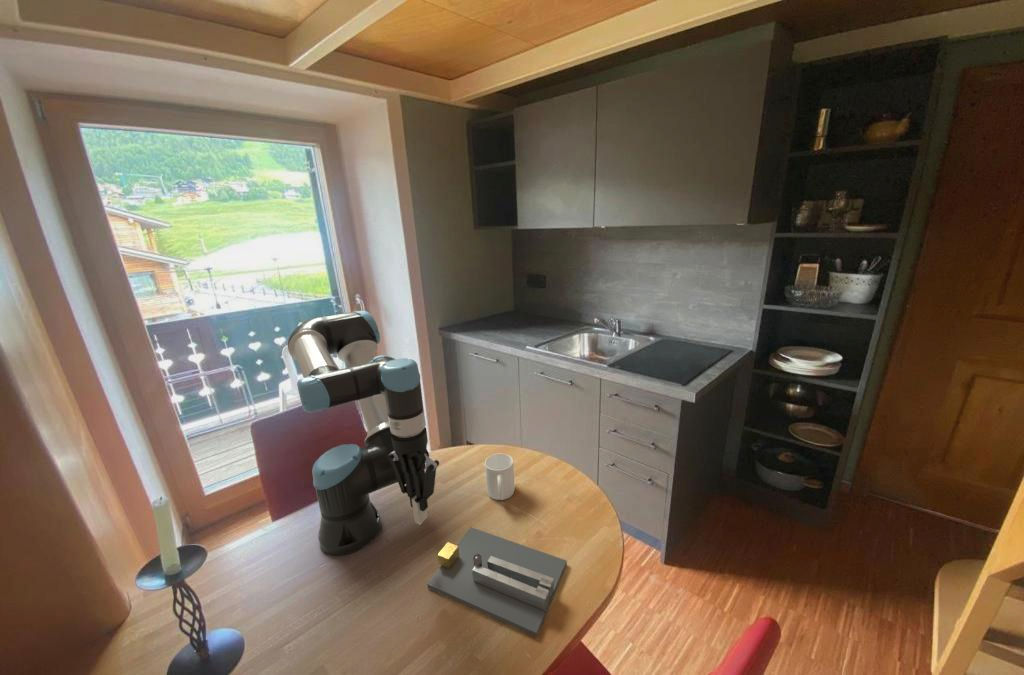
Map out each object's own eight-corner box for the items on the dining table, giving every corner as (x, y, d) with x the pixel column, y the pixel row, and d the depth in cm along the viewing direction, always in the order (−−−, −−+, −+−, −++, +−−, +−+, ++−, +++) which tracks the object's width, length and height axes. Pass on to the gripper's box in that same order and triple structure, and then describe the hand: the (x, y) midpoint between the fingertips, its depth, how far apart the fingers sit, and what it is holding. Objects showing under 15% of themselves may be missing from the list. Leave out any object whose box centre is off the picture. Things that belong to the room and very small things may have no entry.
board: (427, 588, 86) (427, 583, 86) (470, 530, 101) (470, 527, 101) (536, 637, 75) (536, 632, 74) (566, 564, 90) (566, 560, 90)
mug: (516, 509, 108) (514, 477, 105) (486, 511, 108) (484, 479, 105) (513, 481, 120) (512, 452, 117) (487, 483, 119) (484, 454, 116)
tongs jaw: (486, 574, 87) (485, 563, 86) (491, 566, 89) (490, 555, 88) (550, 598, 81) (550, 587, 80) (554, 589, 83) (553, 578, 82)
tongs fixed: (469, 580, 86) (468, 564, 85) (477, 568, 89) (475, 552, 88) (545, 611, 78) (544, 594, 77) (551, 597, 81) (550, 581, 80)
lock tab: (438, 564, 90) (437, 554, 89) (448, 551, 93) (447, 542, 93) (449, 568, 89) (448, 559, 88) (459, 555, 92) (458, 546, 91)
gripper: (373, 432, 84) (388, 522, 91) (421, 444, 79) (434, 539, 85) (397, 416, 91) (410, 502, 97) (443, 426, 85) (453, 516, 92)
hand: (421, 519), depth 91 cm, fingers closed
